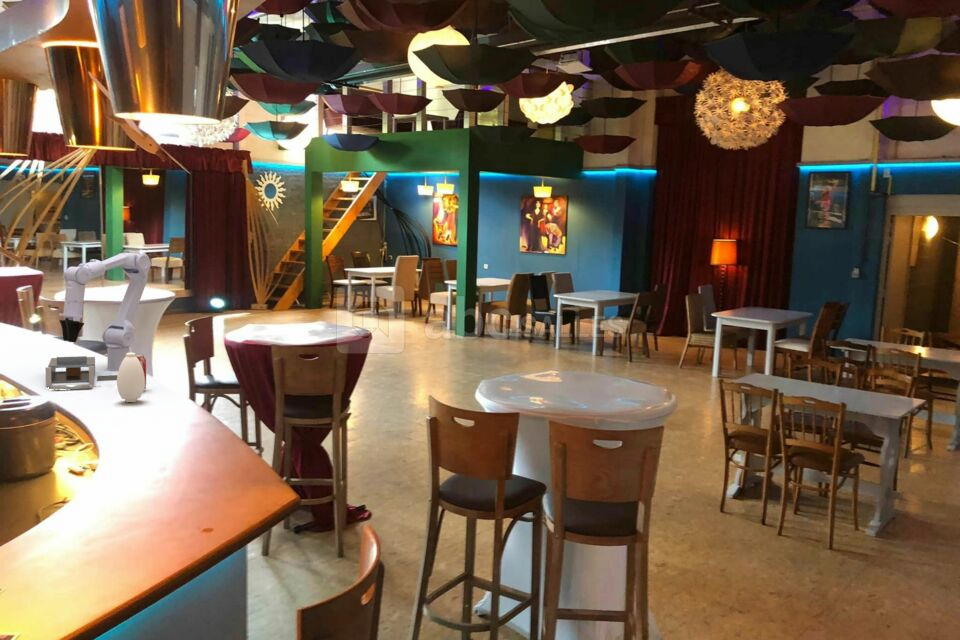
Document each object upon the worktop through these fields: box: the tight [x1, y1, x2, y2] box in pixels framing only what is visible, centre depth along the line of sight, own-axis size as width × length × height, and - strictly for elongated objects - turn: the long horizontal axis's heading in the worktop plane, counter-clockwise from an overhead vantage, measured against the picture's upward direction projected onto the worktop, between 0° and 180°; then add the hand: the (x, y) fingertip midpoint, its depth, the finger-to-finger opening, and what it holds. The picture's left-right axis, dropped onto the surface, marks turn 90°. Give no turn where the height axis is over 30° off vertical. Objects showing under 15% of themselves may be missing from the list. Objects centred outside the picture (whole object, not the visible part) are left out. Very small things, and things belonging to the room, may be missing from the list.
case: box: [45, 361, 96, 388], centre depth 265 cm, size 24×14×7 cm, turn 25°
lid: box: [48, 355, 96, 369], centre depth 267 cm, size 15×14×3 cm
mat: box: [96, 374, 118, 382], centre depth 270 cm, size 9×9×1 cm
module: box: [65, 367, 82, 376], centre depth 272 cm, size 4×4×5 cm
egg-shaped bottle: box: [116, 344, 145, 403], centre depth 238 cm, size 8×8×18 cm
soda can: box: [124, 352, 147, 390], centre depth 254 cm, size 7×7×12 cm
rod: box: [48, 383, 94, 390], centre depth 252 cm, size 13×2×2 cm, turn 115°
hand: (69, 341), depth 265 cm, fingers open, 7 cm apart
